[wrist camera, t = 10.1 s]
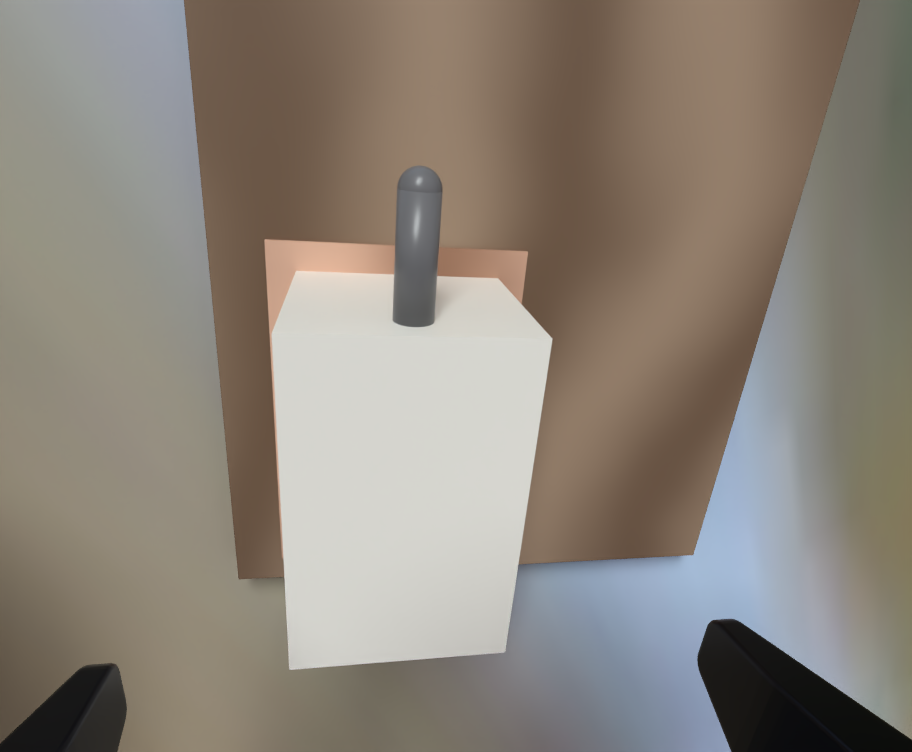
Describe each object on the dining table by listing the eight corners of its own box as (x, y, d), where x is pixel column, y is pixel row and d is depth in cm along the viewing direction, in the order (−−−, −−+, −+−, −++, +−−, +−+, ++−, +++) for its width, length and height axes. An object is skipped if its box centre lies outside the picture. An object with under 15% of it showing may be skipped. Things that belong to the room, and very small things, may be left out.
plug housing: (304, 538, 17) (289, 670, 13) (291, 145, 13) (261, 158, 9) (471, 531, 18) (505, 652, 14) (510, 161, 14) (576, 180, 10)
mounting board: (243, 560, 18) (221, 647, 15) (176, -187, 11) (110, -301, 8) (681, 539, 21) (736, 610, 18) (856, -74, 14) (997, -128, 11)
